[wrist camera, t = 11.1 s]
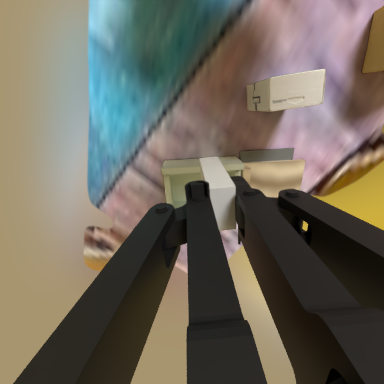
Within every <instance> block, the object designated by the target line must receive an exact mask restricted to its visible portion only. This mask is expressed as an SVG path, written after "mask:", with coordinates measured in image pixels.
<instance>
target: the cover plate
mask: <svg viewBox="0 0 384 384" xmlns="http://www.w3.org/2000/svg"><path fill="white" fill-rule="evenodd" d="M243 163H244V170H241V177H243V178H244V179H245V180H246V181H247V182H248V184H249V185H250V186H251V188H255V189H258V190H260V191H262V192H263V193H264V195H265V196H266V197H278V193H279V192H280V191H281V190H284V189H296V190H300V187H301V182H302V176H303V171H304V165H305V160H303V159H299V160H280V161H261V162H243Z"/></svg>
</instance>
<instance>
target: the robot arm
mask: <svg viewBox="0 0 384 384" xmlns="http://www.w3.org/2000/svg"><path fill="white" fill-rule="evenodd" d="M199 159H200V170H201V180H198V181H191V182H189V183H187V184H185V194H186V204H185V205H183V206H181V207H179V208H175V209H174V206H173V205H172V204H168V203H160V204H157V205H155V206H153V207H152V208H150V209H149V211H148V212H147V213H146V214H145V216H144V217H143V218H142V220H141V221H140V222H139V223H138V225H137V226H136V227H135V229H134V230H133V231H132V232H131V234H130V235H129V236H128V237H127V239H126V240H125V241H124V243H123V244H122V245H121V246H120V248H119V249H118V250H117V252H116V253H115V254H114V255H113V257H112V258H111V259H110V260H109V262H108V263H107V264H106V266H105V267H104V268H103V269H102V271H101V272H100V273H99V275H98V276H97V277H96V278H95V280H94V281H93V282H92V284H91V285H90V286H89V287H88V289H87V290H86V291H85V292H84V294H83V295H82V296H81V298H80V299H79V300H78V302H77V303H76V304H75V305H74V307H73V308H72V309H71V310H70V312H69V313H68V314H67V316H66V317H65V318H64V319H63V321H62V322H61V323H60V325H59V326H58V327H57V329H56V330H55V331H54V332H53V333H52V335H51V336H50V337H49V339H48V340H47V341H46V342H45V344H44V345H43V346H42V348H41V349H40V350H39V351H38V353H37V354H36V355H35V356H34V358H33V359H32V360H31V362H30V363H29V364H28V365H27V367H26V368H25V369H24V370H23V372H22V373H21V374H20V376H19V377H18V378H17V380H16V381H15V382H14V383H13V384H130V383H131V380H132V378H133V375H134V372H135V370H136V367H137V364H138V361H139V359H140V356H141V354H142V351H143V348H144V345H145V343H146V340H147V337H148V335H149V332H150V329H151V327H152V324H153V321H154V319H155V316H156V313H157V311H158V308H159V305H160V302H161V300H162V297H163V295H164V292H165V289H166V286H167V284H168V281H169V279H170V275H171V273H172V270H173V268H174V265H175V262H176V260H177V257H178V254H179V252H180V245H182V244H185V243H187V256H188V300H189V301H188V302H189V326H188V327H187V384H267V381H266V378H265V374H264V371H263V368H262V364H261V361H260V357H259V354H258V351H257V347H256V344H255V340H254V337H253V334H252V331H251V328H250V325H249V323H248V321H247V320H244V318H243V315H242V312H241V308H240V304H239V301H238V297H237V294H236V290H235V286H234V282H233V279H232V275H231V272H230V268H229V265H228V261H227V257H226V253H225V250H224V246H223V242H222V239H221V235H220V232H219V231H220V230H229V229H236V222H237V224H238V244H240V241H242V244H243V246H244V249H245V251H246V253H247V256H248V258H249V261H250V264H251V266H252V268H253V271H254V273H255V276H256V278H257V281H258V283H259V285H260V288H261V290H262V293H263V296H264V298H265V300H266V303H267V305H268V308H269V310H270V313H271V315H272V318H273V320H274V323H275V325H276V328H277V330H278V333H279V335H280V338H281V340H282V342H283V345H284V347H285V349H286V352H287V355H288V357H289V359H290V362H291V365H292V367H293V370H294V374H295V378H296V384H384V230H381V229H379V228H377V227H375V226H373V225H371V224H369V223H367V222H365V221H363V220H361V219H359V218H357V217H355V216H352V215H350V214H348V213H346V212H344V211H342V210H340V209H338V208H336V207H334V206H332V205H330V204H328V203H326V202H324V201H321V200H319V199H317V198H315V197H313V196H311V195H309V194H307V193H305V192H303V191H300V190H296V189H284V190H281V191H280V192H279V193H278V197H266V196H265V195H264V193H263V192H262V191H260V190H258V189H255V188H251V186H250V185H249V184H248V182H247V181H246V180H245V179H244V178H243V177H241V176H232V177H230V176H229V175H228V173H227V171H226V170H225V168H224V166H223V165H222V163H221V162H220V160H219V158H218V157H217V156H215V157H206V158H199ZM303 220H304V221H305V222H307V223H308V229H307V231H305V230H303V229H302V226H303Z"/></svg>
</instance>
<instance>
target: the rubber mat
mask: <svg viewBox="0 0 384 384" xmlns="http://www.w3.org/2000/svg"><path fill="white" fill-rule="evenodd" d="M293 153H294V148H284V149H268V150H251V151H240V160H241V161H242V162H261V161H280V160H293Z"/></svg>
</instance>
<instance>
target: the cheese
mask: <svg viewBox="0 0 384 384" xmlns="http://www.w3.org/2000/svg"><path fill="white" fill-rule="evenodd" d="M379 71H384V6H383V7H381V8H380V9H378V10H377V11H375V12H374V16H373V20H372V25H371V30H370V35H369V41H368V47H367V51H366V56H365V60H364V65H363V69H362V73H370V72H379Z"/></svg>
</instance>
